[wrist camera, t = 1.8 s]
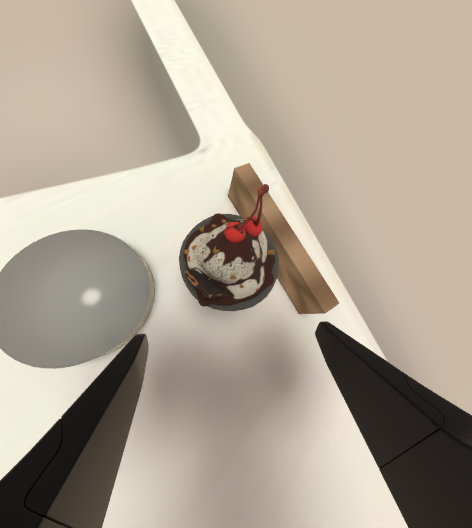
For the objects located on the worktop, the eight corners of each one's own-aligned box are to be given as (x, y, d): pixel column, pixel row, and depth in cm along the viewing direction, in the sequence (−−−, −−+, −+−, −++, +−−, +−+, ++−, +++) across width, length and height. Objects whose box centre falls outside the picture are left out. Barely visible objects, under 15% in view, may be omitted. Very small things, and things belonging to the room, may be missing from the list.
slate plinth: (173, 317, 20) (168, 318, 17) (45, 387, 16) (12, 403, 13) (128, 225, 22) (117, 212, 19) (4, 271, 18) (-33, 263, 15)
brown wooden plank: (311, 305, 23) (339, 303, 18) (299, 313, 22) (325, 313, 18) (240, 191, 26) (249, 163, 21) (228, 195, 25) (234, 168, 20)
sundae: (238, 252, 23) (297, 153, 9) (250, 305, 22) (346, 287, 7) (184, 261, 22) (154, 158, 7) (194, 319, 20) (179, 327, 6)
